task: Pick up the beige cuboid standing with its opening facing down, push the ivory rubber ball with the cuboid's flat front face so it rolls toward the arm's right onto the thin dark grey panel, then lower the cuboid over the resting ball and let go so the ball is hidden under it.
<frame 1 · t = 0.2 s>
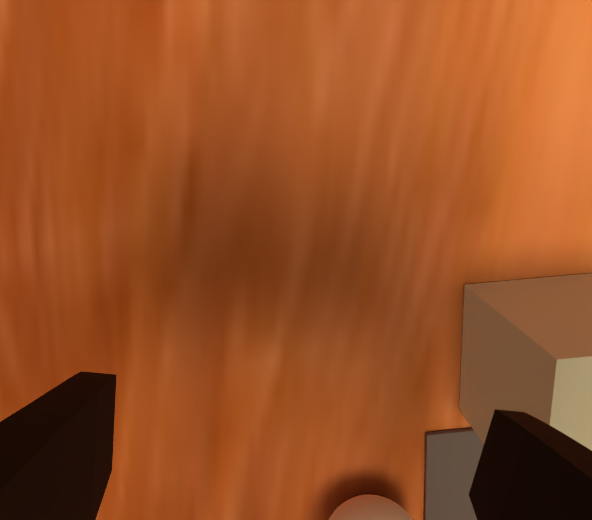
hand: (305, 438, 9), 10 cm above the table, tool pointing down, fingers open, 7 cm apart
thin dark grey panel: (506, 494, 22), on the table
beige cuboid: (541, 341, 20), on the table
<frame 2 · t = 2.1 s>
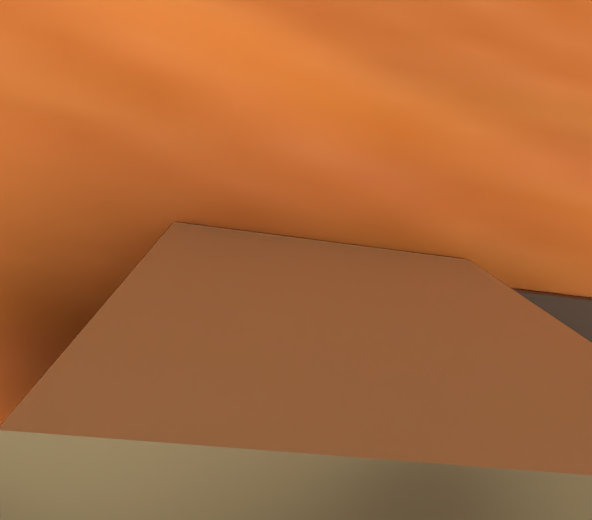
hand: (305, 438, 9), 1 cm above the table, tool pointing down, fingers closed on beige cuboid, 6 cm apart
beige cuboid: (299, 396, 10), on the table, touching gripper
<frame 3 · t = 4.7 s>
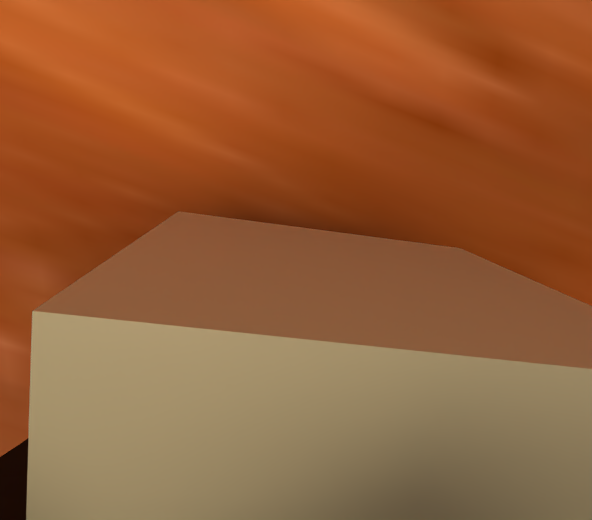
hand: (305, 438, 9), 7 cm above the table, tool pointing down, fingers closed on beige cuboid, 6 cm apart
beige cuboid: (299, 386, 10), point 5 cm above the table, touching gripper
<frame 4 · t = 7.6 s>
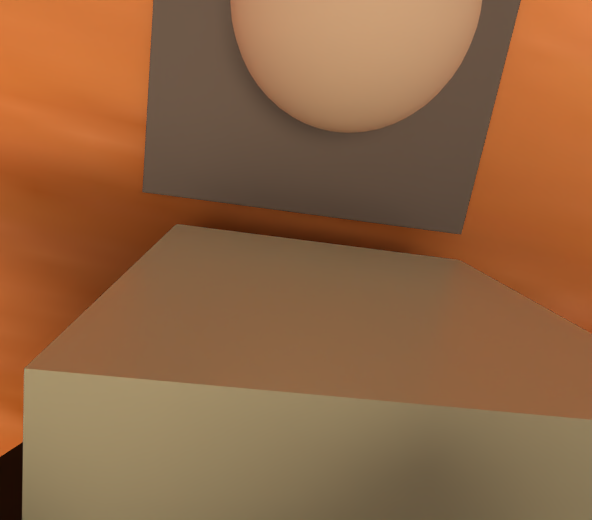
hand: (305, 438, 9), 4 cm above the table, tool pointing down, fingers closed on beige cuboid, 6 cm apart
thin dark grey panel: (334, 40, 11), on the table
beige cuboid: (298, 396, 10), point 3 cm above the table, touching gripper
ball: (352, 7, 8), on the table
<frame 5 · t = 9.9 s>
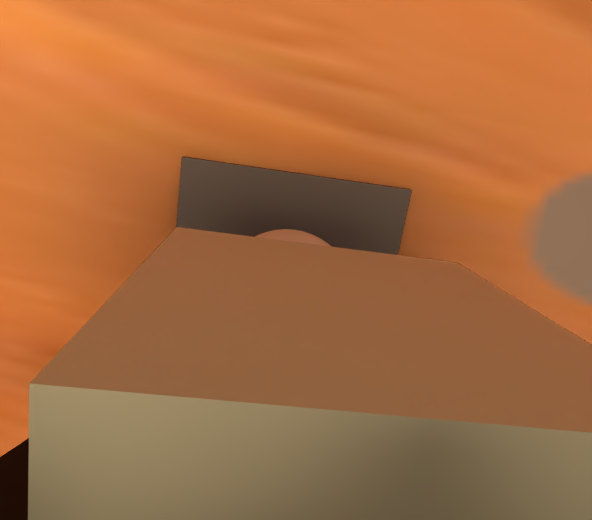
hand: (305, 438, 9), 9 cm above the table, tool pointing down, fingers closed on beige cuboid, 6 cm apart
thin dark grey panel: (283, 281, 17), on the table
beige cuboid: (297, 396, 10), point 7 cm above the table, touching gripper
ball: (285, 297, 15), on the table
when the fingers open (2 cm above the table, at t = 11.9 s): beige cuboid stays where it is, on the table.
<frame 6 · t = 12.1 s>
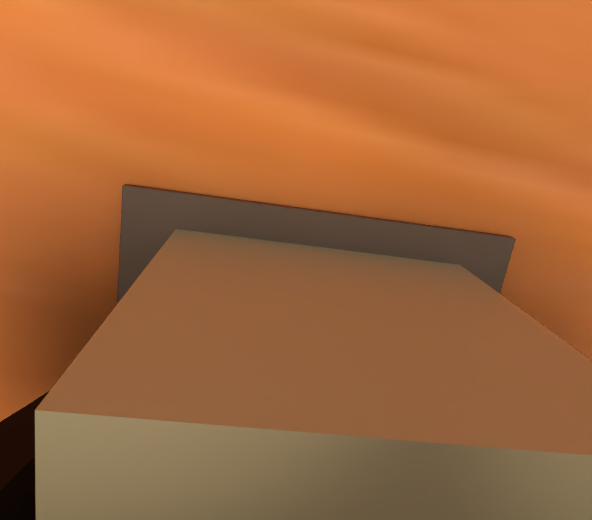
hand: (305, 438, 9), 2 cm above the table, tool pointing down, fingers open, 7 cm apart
thin dark grey panel: (297, 383, 11), on the table
beige cuboid: (296, 391, 11), on the table
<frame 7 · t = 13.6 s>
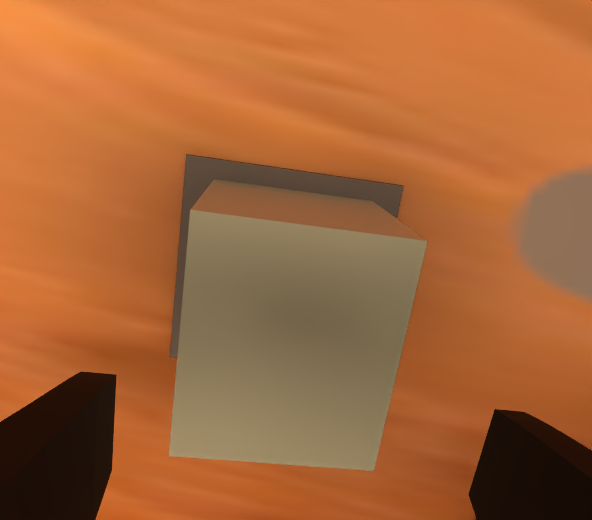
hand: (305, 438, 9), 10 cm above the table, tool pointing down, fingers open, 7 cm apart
thin dark grey panel: (282, 273, 18), on the table
beige cuboid: (281, 278, 18), on the table
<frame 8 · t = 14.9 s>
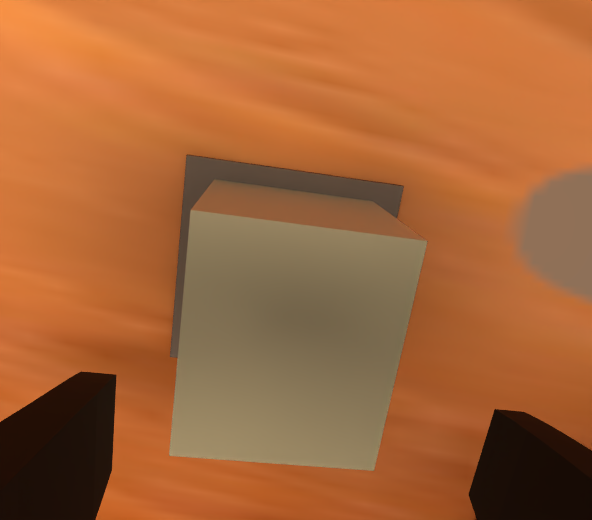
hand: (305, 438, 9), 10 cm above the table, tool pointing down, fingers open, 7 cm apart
thin dark grey panel: (282, 273, 18), on the table
beige cuboid: (281, 278, 18), on the table
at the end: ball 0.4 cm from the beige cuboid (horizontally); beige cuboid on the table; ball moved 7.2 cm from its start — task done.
